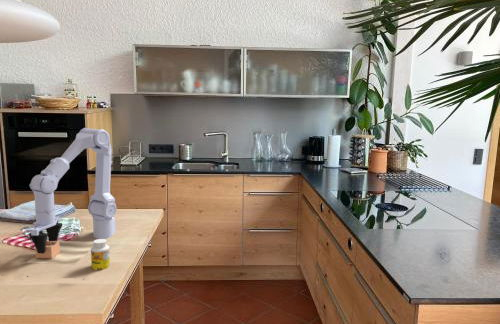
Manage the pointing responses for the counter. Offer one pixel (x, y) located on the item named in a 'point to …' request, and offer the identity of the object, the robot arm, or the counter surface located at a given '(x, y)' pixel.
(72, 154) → the robot arm
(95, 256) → the supplement bottle
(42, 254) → the orange hollow cube
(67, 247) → the beige base plate
